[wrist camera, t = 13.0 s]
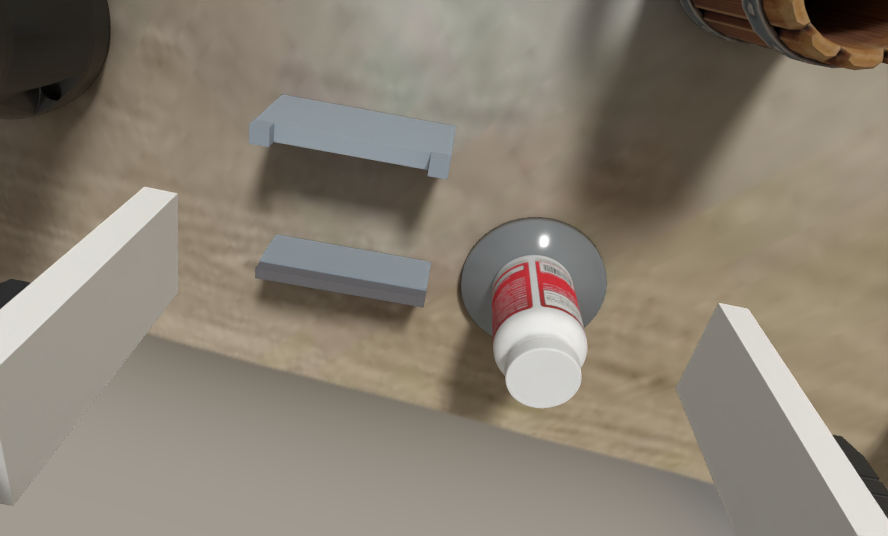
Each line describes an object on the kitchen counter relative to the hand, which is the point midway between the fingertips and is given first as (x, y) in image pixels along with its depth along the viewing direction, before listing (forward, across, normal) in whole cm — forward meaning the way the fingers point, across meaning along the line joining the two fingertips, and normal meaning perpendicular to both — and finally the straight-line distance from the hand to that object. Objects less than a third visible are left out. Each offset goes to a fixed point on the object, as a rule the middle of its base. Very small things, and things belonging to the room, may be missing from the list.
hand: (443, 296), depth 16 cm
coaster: (+30, +9, -16) cm, 35 cm away
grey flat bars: (+30, -5, -11) cm, 33 cm away
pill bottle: (+29, +9, -16) cm, 34 cm away
